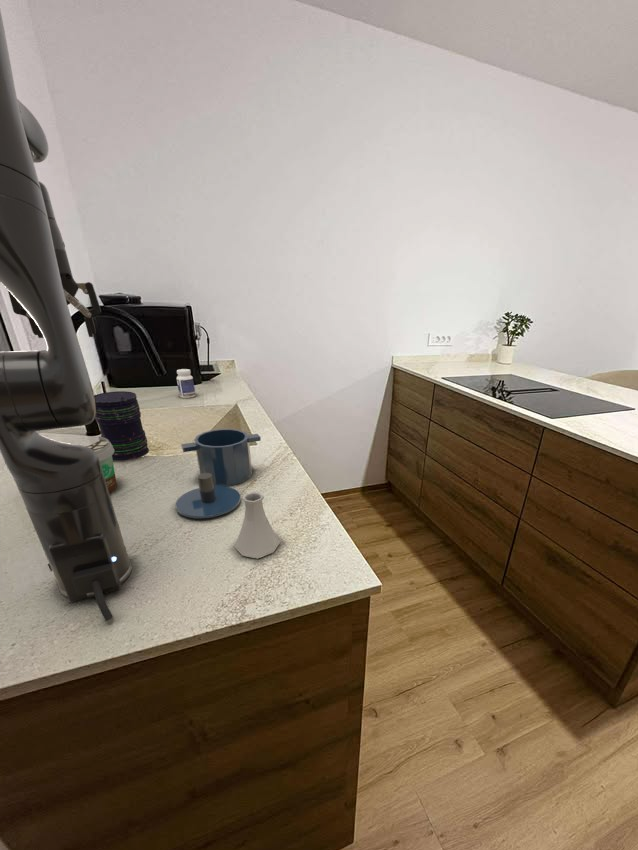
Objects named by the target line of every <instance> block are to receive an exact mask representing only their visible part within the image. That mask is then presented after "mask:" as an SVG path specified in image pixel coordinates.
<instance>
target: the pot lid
mask: <svg viewBox="0 0 638 850" xmlns="http://www.w3.org/2000/svg"><path fill="white" fill-rule="evenodd" d="M196 478H197V484H198V487H197V488H194V489H192V490H189V491H187V492H185V493H183V494H182V495H181V496H179V497H178V499H177V500H176V502H175V510H176V511H177V513H178V514H179V515H181V516H183V517H185V518H190V519H210V518H211V519H212V518H215V517H219V516H221V515H225V514H227V513H229V512H231V511H233V510H234V509H235V508H237V507H238V506H239V504H240V502H241V494H240V492H239V491H238V490H237V489H235V488H232V487H231V486H214V483H213V477H212V474H211V473H202V474H200V473H199V474H198V475H197V476H196Z"/></svg>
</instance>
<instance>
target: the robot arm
mask: <svg viewBox="0 0 638 850" xmlns="http://www.w3.org/2000/svg"><path fill="white" fill-rule="evenodd" d="M7 41H8V40H7V36H6V31H5V25H4V20H3V16H2V11H1V9H0V284H1V285H2V286H3V287H4V288H5V289H6V290H7V292H8V296H9V300H10V303H11V307H12V311H13V313H14V314H16V315H20V316H23V317H25V318H27V319H28V322H29V325H30V328H31V331H32V333H33V335H34V336H37V337H38V339H44V340H45V343H46V349H45V350H43V349H42V350H14V351H0V454H1V456H2V459H3V461H4V463H5V465H6V468H7V470H8V471H9V473H10V474H11V476H12V478H13V481H14V482H15V485H16V487H17V491H18V492H19V494H20V496H21V499H22V502H23V504H24V505H25V509H26V511H27V513H28V516H29V519H30V521H31V523H32V525H33V528H34V530H35V533H36V535H37V538H38V540H39V542H40V545H41V547H42V550H43V552H44V554H45V557H46V559H47V561H48V564H47V567H48V568H49V571H50V572H52V573H53V575H54V578H55V579H56V582H57V587H58V589H59V592H60V593H61V595H63V596H64V597H66V598H68V601H69V603H75V602H78V601H82V600H86V599H89V598H94V599H95V601H96V604H97V606H98V608H99V611H100V613H101V615H102V616H103V618H104V620H105V622H107V621H109V620H111V619H113V618H114V616H113V614H112V612H111V610H110V608H109V606H108V603H107V602H106V599H105V596H104V594H107V593H111V592H114V591H115V592H116V591H118V590H120V589H121V587H122V586H121V585H122V584H123V583H124V582H125V581H126V580H127V579H128V578H129V576H130V575H131V573H132V571H133V566H132V565H133V564H132V561H131V559H130V558H129V553H128V551H127V547H126V545H125V541H124V538H123V535H122V532H121V528H120V524H119V522H118V521H119V520H118V518H117V515H116V511H115V508H114V505H113V502H112V499H111V495H110V494H111V493H109V491H108V488H107V484H106V481H105V477H104V474H103V471H102V467H101V463H100V460H99V457H98V455H97V454H96V452H95V451H94V450H92V449H90V448H88V447H86V446H85V445H81V444H75V443H69V442H65V441H59V440H55V439H51V438H49V437H47V436H45V435H42V434H40V433H38V432H39V431H40V432H41V431H47V430H48V431H50V430H57V429H67V428H68V429H69V428H75V427H83V426H88V425H90V424H92V423H93V422H94V420H95V414H96V405H95V398H94V395H95V394H94V393H95V392H94V389H93V386H92V382H91V379H90V375H89V372H88V368H87V365H86V361H85V359H84V355H83V351H82V349H81V345H80V343H79V338H78V336H77V333H76V329H75V325H74V323H73V320H72V316H71V312H70V309H69V306H68V305H70V304H71V306H72V307H74V308H75V309H76V310H77V311H79V312H80V313H81V314H82V315H83V316H84V318H83V319H84V323H85V327H86V331H87V335H88V337H89V338H93V337H94V335H96V332H97V329H96V326H95V322H94V317H95V316H98V315H101V314H102V309H101V306H100V303H99V299H98V296H97V293H96V289H95V287H94V284H93V283H92V282H90V281H87V282H77V281H76V280H75V279H74V277H73V273H72V270H71V265H70V262H69V257H68V255H67V250H66V244H65V242H64V240H63V236H62V233H61V230H60V227H59V225H58V223H57V219H56V216H55V213H54V209H53V205H52V201H51V197H50V194H49V191H48V188H47V187H46V185H45V184H44V183H43V182H42V181H39V178H38V174H37V173H38V172H37V171H36V166H35V163H36V164H38V163H42V162H44V161H45V160H46V159H47V157H48V155H49V142H48V139H47V136H46V133H45V132H44V129H43V127H42V126H41V124H40V122H39V120H38V119H37V118H36V116H35V115H34V114H33V113H32V111H30V110H29V109H28V107H27V106H26V105H24V103H23V102H22V101H20V100H19V99H18V95H17V91H16V86H15V80H14V75H13V69H12V64H11V59H10V54H9V52H10V51H9V47H8V42H7ZM79 290H81V291H82V292H83V294H85V295H88V297H89V301H90V304H91V307H92V308H91V309H88V307H87V306H85V304H83V303H82V301H80V300H79V299H78V298H77V297H75V296H76V295H77V293H78V291H79Z"/></svg>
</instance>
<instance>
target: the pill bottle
mask: <svg viewBox="0 0 638 850" xmlns="http://www.w3.org/2000/svg"><path fill="white" fill-rule="evenodd" d="M191 372H192V371H191V369H188V368H181V369H180V368H179V369H177V370H176V374H177V376H176V383H177V389H178V395H179V397H180V398H182V399H191V398H194V397H196V389H195V382H194V377H193V376H192V375H191Z"/></svg>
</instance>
